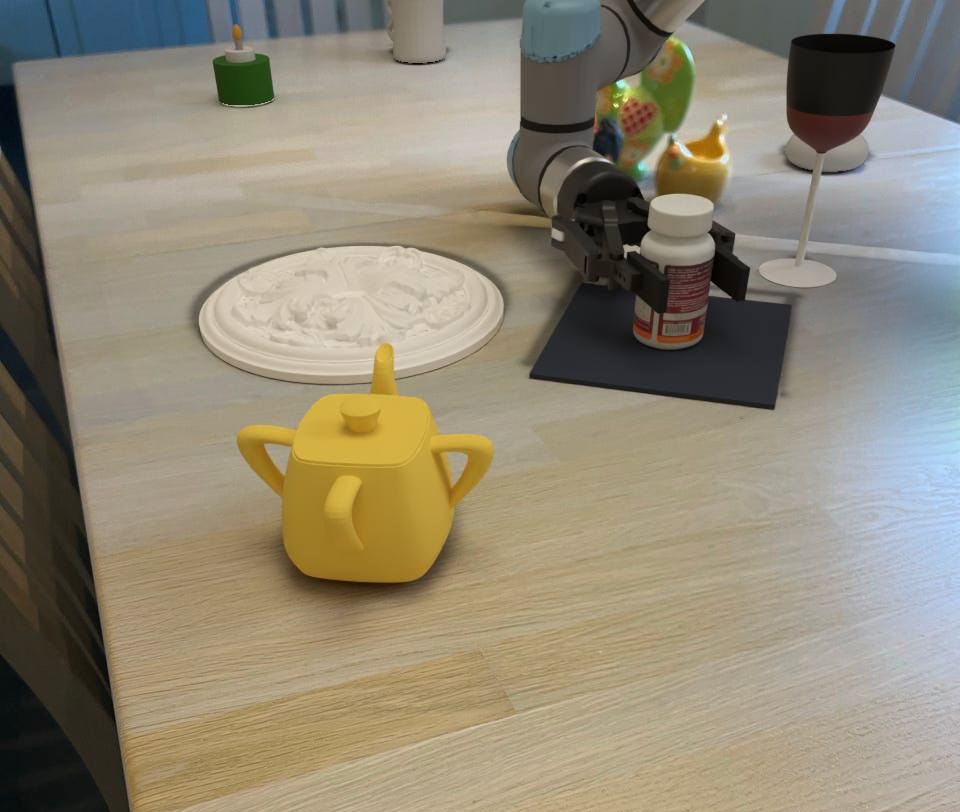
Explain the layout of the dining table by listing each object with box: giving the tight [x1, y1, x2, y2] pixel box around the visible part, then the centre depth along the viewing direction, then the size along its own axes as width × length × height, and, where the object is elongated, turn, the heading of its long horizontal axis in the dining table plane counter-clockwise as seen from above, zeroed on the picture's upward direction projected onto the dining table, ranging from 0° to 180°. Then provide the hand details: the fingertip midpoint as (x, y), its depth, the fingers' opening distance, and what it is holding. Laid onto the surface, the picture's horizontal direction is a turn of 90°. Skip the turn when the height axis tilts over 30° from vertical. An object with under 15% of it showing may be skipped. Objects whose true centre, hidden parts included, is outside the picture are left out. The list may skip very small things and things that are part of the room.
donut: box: [785, 133, 870, 173], centre depth 126 cm, size 10×4×10 cm
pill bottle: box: [633, 193, 715, 350], centre depth 85 cm, size 6×6×11 cm
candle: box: [212, 23, 275, 105], centre depth 150 cm, size 8×8×10 cm
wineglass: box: [758, 33, 896, 288], centre depth 94 cm, size 8×9×20 cm
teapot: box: [236, 343, 495, 583], centre depth 64 cm, size 14×13×10 cm
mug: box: [385, 0, 447, 64], centre depth 170 cm, size 12×9×10 cm
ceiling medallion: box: [198, 245, 505, 385], centre depth 93 cm, size 28×28×3 cm
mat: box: [528, 281, 793, 410], centre depth 89 cm, size 20×20×1 cm
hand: (703, 290), depth 81 cm, fingers open, 6 cm apart
